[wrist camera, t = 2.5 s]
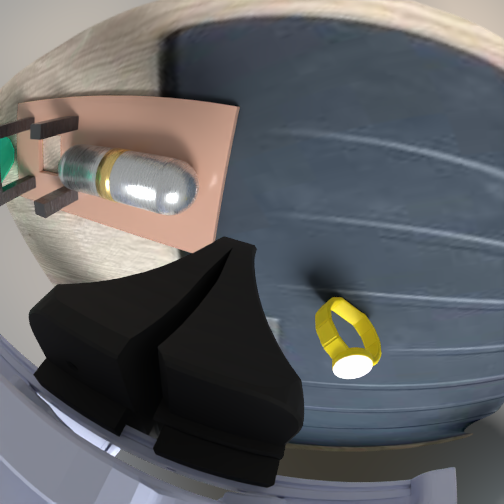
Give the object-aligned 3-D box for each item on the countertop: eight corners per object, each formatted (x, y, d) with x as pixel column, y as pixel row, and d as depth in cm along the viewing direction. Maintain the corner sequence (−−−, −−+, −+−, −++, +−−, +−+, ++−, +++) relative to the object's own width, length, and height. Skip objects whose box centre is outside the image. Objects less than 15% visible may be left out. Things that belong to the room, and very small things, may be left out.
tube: (211, 159, 17) (187, 170, 13) (203, 210, 18) (180, 232, 15) (81, 138, 18) (48, 147, 14) (80, 180, 19) (50, 193, 16)
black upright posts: (79, 116, 17) (26, 127, 12) (78, 199, 21) (33, 225, 16) (27, 117, 17) (-15, 129, 13) (29, 185, 21) (-9, 204, 16)
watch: (381, 314, 21) (395, 372, 16) (358, 333, 22) (365, 389, 17) (332, 279, 20) (339, 341, 15) (308, 302, 21) (307, 363, 16)
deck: (239, 106, 15) (237, 106, 15) (212, 254, 21) (210, 258, 20) (21, 102, 17) (17, 103, 17) (24, 193, 23) (20, 195, 22)
